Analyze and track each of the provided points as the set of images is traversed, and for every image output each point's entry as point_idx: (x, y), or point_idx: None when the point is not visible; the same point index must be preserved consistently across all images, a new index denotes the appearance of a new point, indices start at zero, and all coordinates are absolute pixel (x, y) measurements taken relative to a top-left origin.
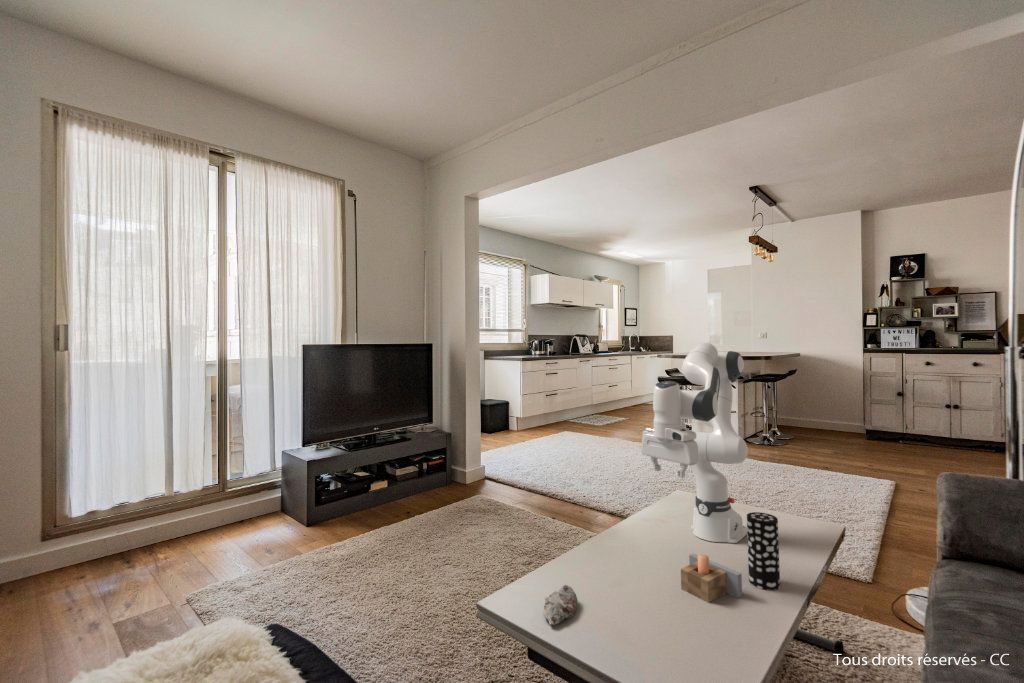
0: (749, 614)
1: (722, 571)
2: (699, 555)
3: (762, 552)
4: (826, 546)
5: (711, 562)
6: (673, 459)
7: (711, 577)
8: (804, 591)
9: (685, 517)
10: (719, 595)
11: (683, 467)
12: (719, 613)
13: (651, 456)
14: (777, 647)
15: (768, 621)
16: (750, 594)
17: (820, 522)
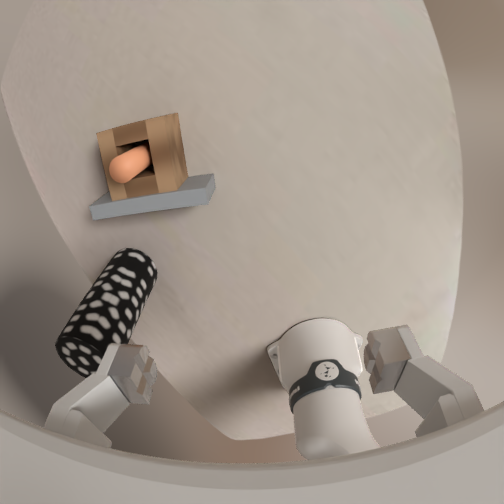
0: (70, 166)
1: (116, 195)
2: (130, 167)
3: (89, 291)
4: (195, 405)
5: (149, 203)
6: (103, 472)
7: (104, 152)
8: None
9: None
10: None
11: (56, 403)
12: (87, 120)
13: (474, 418)
14: (17, 139)
15: (52, 177)
16: (112, 219)
17: (248, 438)
